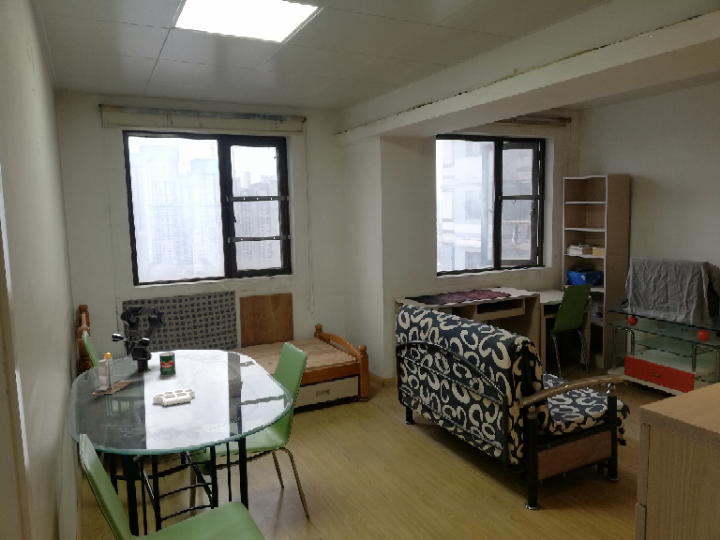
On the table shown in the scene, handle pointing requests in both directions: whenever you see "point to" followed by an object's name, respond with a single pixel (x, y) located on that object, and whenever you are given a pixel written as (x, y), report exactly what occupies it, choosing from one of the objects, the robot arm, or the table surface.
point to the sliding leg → (110, 368)
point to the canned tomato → (167, 363)
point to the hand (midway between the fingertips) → (127, 355)
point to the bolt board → (116, 387)
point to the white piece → (174, 397)
